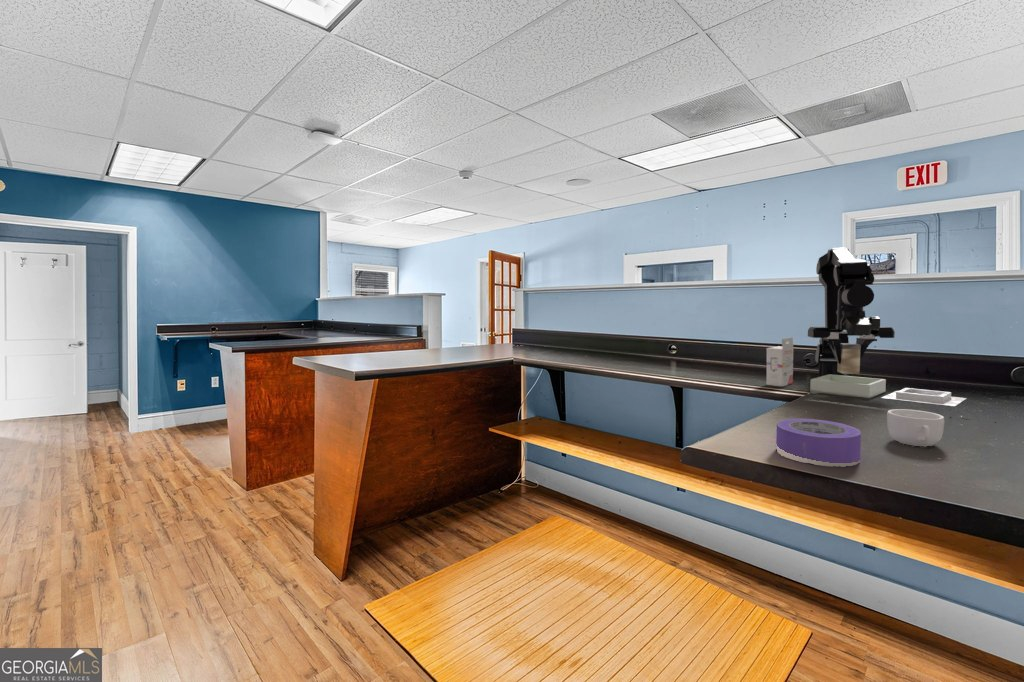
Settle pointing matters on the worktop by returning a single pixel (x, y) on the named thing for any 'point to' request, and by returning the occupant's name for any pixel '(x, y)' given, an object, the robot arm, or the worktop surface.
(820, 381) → the bin
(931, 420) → the teacup
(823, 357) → the robot arm
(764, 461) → the worktop surface
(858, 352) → the strut
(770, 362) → the ink cartridge box
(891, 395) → the socket collar
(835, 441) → the tape roll
